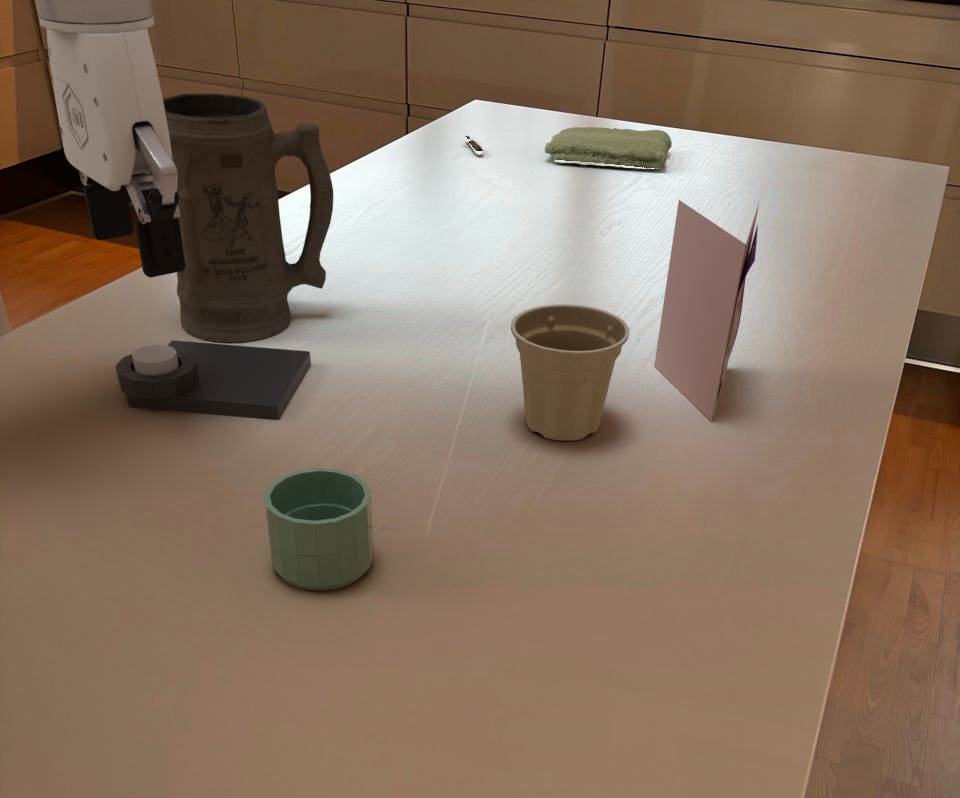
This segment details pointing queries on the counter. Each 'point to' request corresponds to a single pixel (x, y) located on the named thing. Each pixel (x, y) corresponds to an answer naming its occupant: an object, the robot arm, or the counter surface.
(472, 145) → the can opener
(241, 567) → the counter surface
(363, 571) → the cup
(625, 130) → the washcloth
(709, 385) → the greeting card
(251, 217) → the beer stein
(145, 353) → the button
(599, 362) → the flower pot
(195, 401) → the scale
